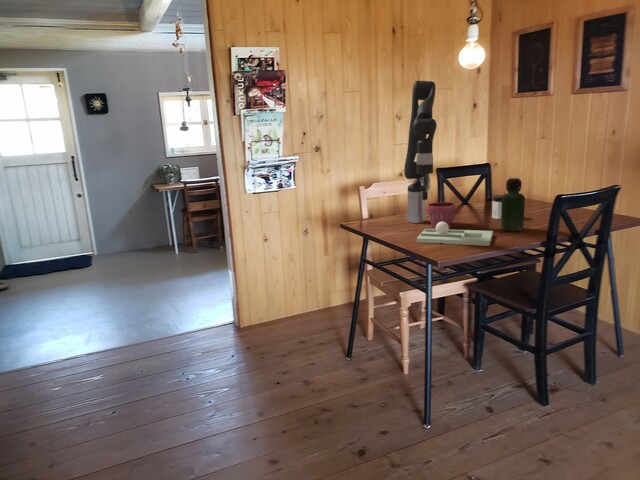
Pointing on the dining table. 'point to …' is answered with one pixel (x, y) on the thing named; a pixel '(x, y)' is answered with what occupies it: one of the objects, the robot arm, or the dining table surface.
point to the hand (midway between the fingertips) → (425, 199)
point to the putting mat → (456, 237)
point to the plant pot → (440, 213)
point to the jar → (496, 206)
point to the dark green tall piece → (513, 207)
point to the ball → (442, 227)
